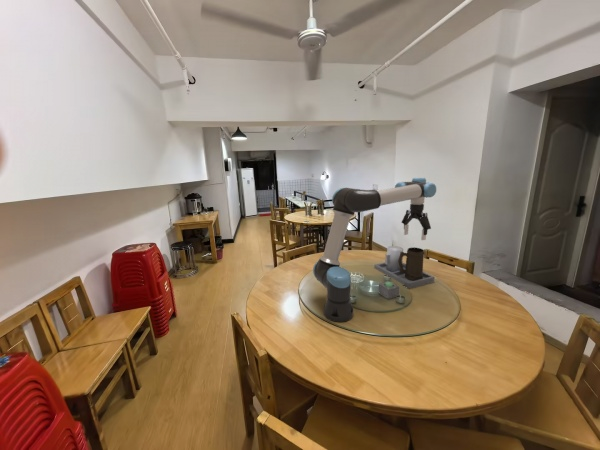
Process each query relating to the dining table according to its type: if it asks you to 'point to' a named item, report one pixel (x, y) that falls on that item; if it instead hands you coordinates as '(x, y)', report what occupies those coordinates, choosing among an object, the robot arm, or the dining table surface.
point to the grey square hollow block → (388, 290)
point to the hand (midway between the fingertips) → (414, 237)
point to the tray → (401, 276)
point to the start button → (389, 284)
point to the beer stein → (412, 263)
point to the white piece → (393, 258)
